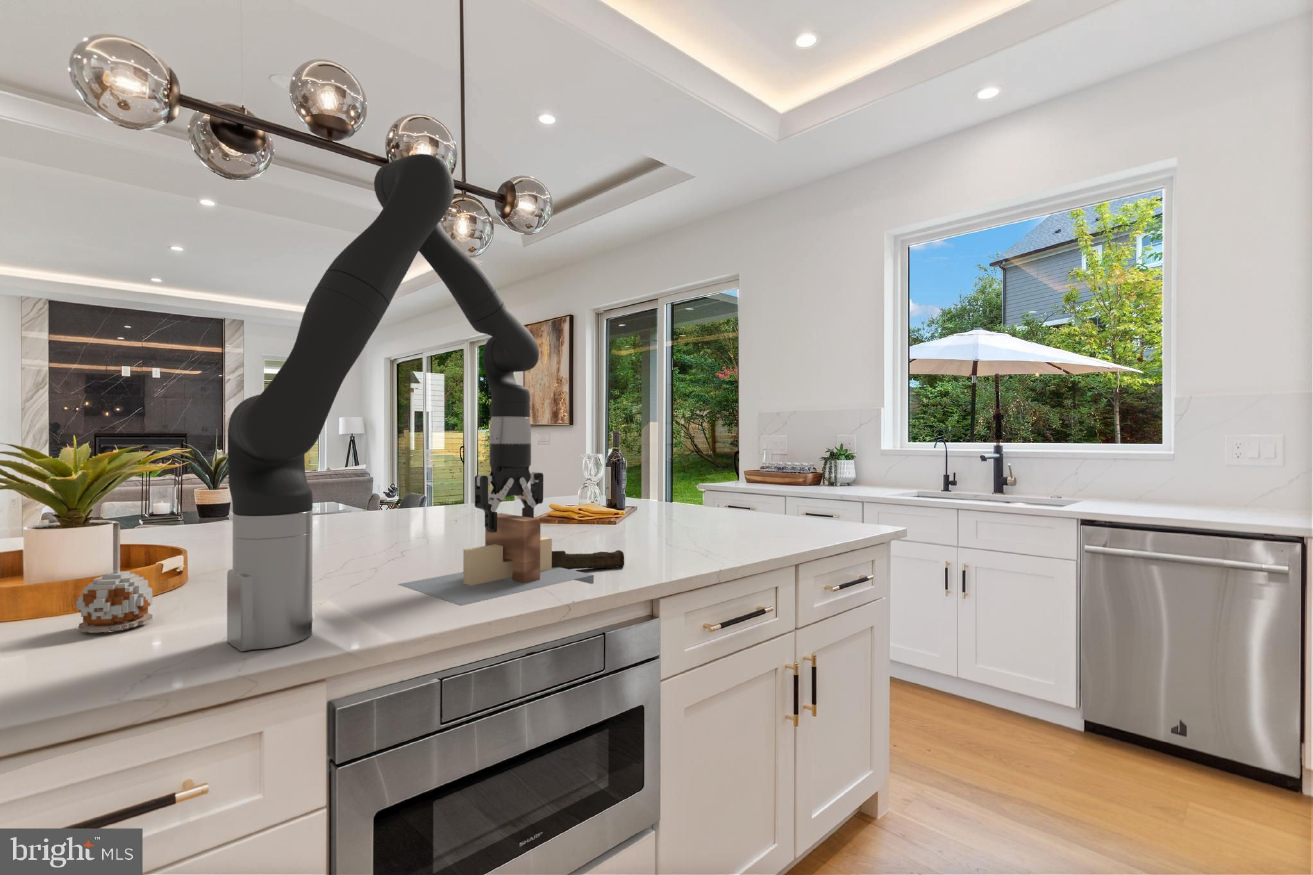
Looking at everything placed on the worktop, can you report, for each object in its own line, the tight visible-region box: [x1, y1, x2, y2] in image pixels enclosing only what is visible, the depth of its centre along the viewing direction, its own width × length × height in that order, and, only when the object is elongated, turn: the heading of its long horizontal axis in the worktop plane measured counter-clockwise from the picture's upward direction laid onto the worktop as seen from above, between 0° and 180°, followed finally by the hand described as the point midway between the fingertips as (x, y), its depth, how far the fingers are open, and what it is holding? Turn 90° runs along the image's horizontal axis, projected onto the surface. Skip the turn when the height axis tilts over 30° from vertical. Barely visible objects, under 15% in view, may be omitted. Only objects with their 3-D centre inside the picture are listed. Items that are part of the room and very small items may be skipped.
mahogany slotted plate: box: [484, 512, 541, 583], centre depth 115 cm, size 4×12×11 cm, turn 49°
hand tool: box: [552, 549, 625, 570], centre depth 128 cm, size 19×4×5 cm, turn 116°
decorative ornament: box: [75, 522, 153, 634], centre depth 89 cm, size 8×8×15 cm
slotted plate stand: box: [398, 536, 595, 606], centre depth 113 cm, size 28×20×8 cm
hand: (510, 529), depth 116 cm, fingers open, 7 cm apart
